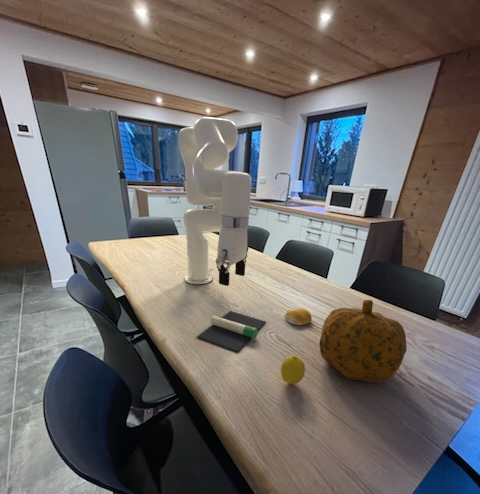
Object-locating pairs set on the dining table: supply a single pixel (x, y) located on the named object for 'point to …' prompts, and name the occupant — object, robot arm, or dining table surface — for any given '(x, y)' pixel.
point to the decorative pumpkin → (363, 343)
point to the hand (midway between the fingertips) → (232, 279)
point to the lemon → (292, 369)
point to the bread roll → (298, 316)
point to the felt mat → (231, 332)
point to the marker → (235, 327)
